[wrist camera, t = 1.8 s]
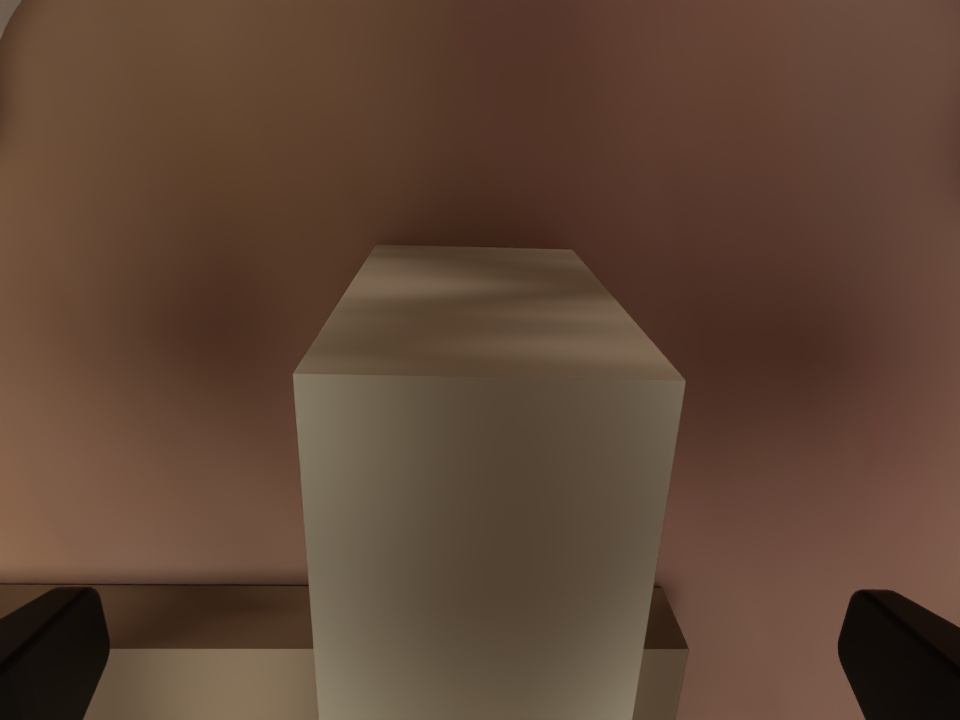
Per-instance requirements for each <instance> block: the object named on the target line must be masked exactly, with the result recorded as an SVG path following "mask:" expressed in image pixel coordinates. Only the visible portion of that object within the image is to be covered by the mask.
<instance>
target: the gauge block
mask: <svg viewBox="0 0 960 720" xmlns="http://www.w3.org/2000/svg"><path fill="white" fill-rule="evenodd" d="M293 384H294V397H295V410H296V423H297V436H298V449H299V463H300V476H301V489H302V502H303V515H304V528H305V542H306V555H307V568H308V581H309V594H310V607H311V620H312V634H313V647H314V660H315V673H316V686H317V699H318V713H319V720H632V717H633V711H634V705H635V698H636V692H637V686H638V680H639V673H640V667H641V661H642V654H643V648H644V642H645V636H646V629H647V623H648V617H649V610H650V604H651V598H652V592H653V585H654V579H655V573H656V566H657V560H658V554H659V548H660V541H661V535H662V529H663V522H664V516H665V510H666V504H667V497H668V491H669V485H670V478H671V472H672V466H673V460H674V453H675V447H676V441H677V434H678V428H679V422H680V416H681V409H682V403H683V397H684V390H685V384H686V380H685V379H684V378H683V377H682V376H681V374H680V373H679V372H678V371H677V370H676V369H675V367H674V366H673V365H672V364H671V363H670V362H669V361H668V359H667V358H666V357H665V356H664V355H663V354H662V352H661V351H660V350H659V349H658V348H657V347H656V346H655V344H654V343H653V342H652V341H651V340H650V339H649V337H648V336H647V335H646V334H645V333H644V332H643V331H642V329H641V328H640V327H639V326H638V325H637V324H636V322H635V321H634V320H633V319H632V318H631V317H630V316H629V314H628V313H627V312H626V311H625V310H624V309H623V307H622V306H621V305H620V304H619V303H618V302H617V301H616V299H615V298H614V297H613V296H612V295H611V294H610V292H609V291H608V290H607V289H606V288H605V287H604V286H603V284H602V283H601V282H600V281H599V280H598V279H597V277H596V276H595V275H594V274H593V273H592V272H591V271H590V269H589V268H588V267H587V266H586V265H585V264H584V262H583V261H582V260H581V259H580V258H579V257H578V255H577V254H576V253H575V252H574V251H573V250H566V249H529V248H492V247H455V246H418V245H380V244H376V245H375V246H374V248H373V250H372V251H371V253H370V254H369V256H368V257H367V259H366V260H365V262H364V264H363V265H362V267H361V268H360V270H359V271H358V273H357V274H356V276H355V278H354V279H353V281H352V282H351V284H350V285H349V287H348V288H347V290H346V292H345V293H344V295H343V296H342V298H341V299H340V301H339V302H338V304H337V306H336V307H335V309H334V310H333V312H332V313H331V315H330V316H329V318H328V320H327V321H326V323H325V324H324V326H323V327H322V329H321V330H320V332H319V334H318V335H317V337H316V338H315V340H314V341H313V343H312V344H311V346H310V348H309V349H308V351H307V352H306V354H305V355H304V357H303V358H302V360H301V362H300V363H299V365H298V366H297V368H296V369H295V371H294V372H293Z"/></svg>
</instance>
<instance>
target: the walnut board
mask: <svg viewBox="0 0 960 720" xmlns="http://www.w3.org/2000/svg"><path fill="white" fill-rule="evenodd" d="M60 586H90V587H93V588H95V589H96V590H97V591H98V592H99V594H100V597H101V601H102V606H103V610H104V615H105V619H106V624H107V628H108V633H109V637H110V653H109V658H108V661H107V664H106V667H105V669H104V672H103V674H102V676H101V679H100V681H99V683H98V686H97V688H96V691H95V693H94V695H93V698H92V700H91V702H90V705H89V707H88V710H87V712H86V714H85V717H84V719H83V720H319V713H318V699H317V686H316V673H315V660H314V647H313V634H312V620H311V607H310V594H309V586H192V585H0V618H2V617H4V616H6V615H7V614H9V613H11V612H13V611H14V610H16V609H18V608H20V607H21V606H23V605H25V604H27V603H28V602H30V601H32V600H34V599H35V598H37V597H39V596H41V595H42V594H44V593H46V592H48V591H49V590H51V589H53V588H56V587H60ZM688 651H689V648H688V646H687V644H686V641H685V639H684V637H683V634H682V632H681V630H680V627H679V625H678V623H677V621H676V618H675V616H674V614H673V611H672V609H671V607H670V604H669V602H668V600H667V597H666V595H665V593H664V590H663V588H653V592H652V598H651V604H650V610H649V617H648V623H647V629H646V636H645V642H644V648H643V654H642V661H641V667H640V673H639V680H638V686H637V692H636V698H635V705H634V711H633V717H632V720H675V719H676V714H677V709H678V704H679V698H680V693H681V688H682V683H683V677H684V672H685V667H686V662H687V657H688Z"/></svg>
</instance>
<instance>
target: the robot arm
mask: <svg viewBox="0 0 960 720" xmlns="http://www.w3.org/2000/svg"><path fill="white" fill-rule="evenodd" d="M109 653H110V637H109V633H108V628H107V624H106V619H105V615H104V610H103V606H102V601H101V597H100V594H99V592H98V591H97V590H96V589H95V588H93V587H90V586H60V587H56V588H53V589H51V590H49V591H48V592H46V593H44V594H42V595H41V596H39V597H37V598H35V599H34V600H32V601H30V602H28V603H27V604H25V605H23V606H21V607H20V608H18V609H16V610H14V611H13V612H11V613H9V614H7V615H6V616H4V617H2V618H0V720H83V719H84V717H85V714H86V712H87V710H88V707H89V705H90V702H91V700H92V698H93V695H94V693H95V691H96V688H97V686H98V683H99V681H100V679H101V676H102V674H103V672H104V669H105V667H106V664H107V661H108V658H109ZM838 655H839V659H840V662H841V665H842V667H843V669H844V672H845V674H846V676H847V679H848V681H849V683H850V685H851V688H852V690H853V692H854V694H855V697H856V699H857V701H858V703H859V706H860V708H861V710H862V713H863V715H864V717H865V719H866V720H960V627H958V626H956V625H954V624H952V623H951V622H949V621H947V620H945V619H943V618H942V617H940V616H938V615H936V614H934V613H933V612H931V611H929V610H927V609H925V608H924V607H922V606H920V605H918V604H917V603H915V602H913V601H911V600H909V599H908V598H906V597H904V596H902V595H900V594H899V593H897V592H894V591H891V590H875V589H862V590H858V591H856V592H855V593H854V594H853V595H852V596H851V599H850V602H849V605H848V609H847V612H846V615H845V619H844V622H843V626H842V629H841V632H840V636H839V640H838Z"/></svg>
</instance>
